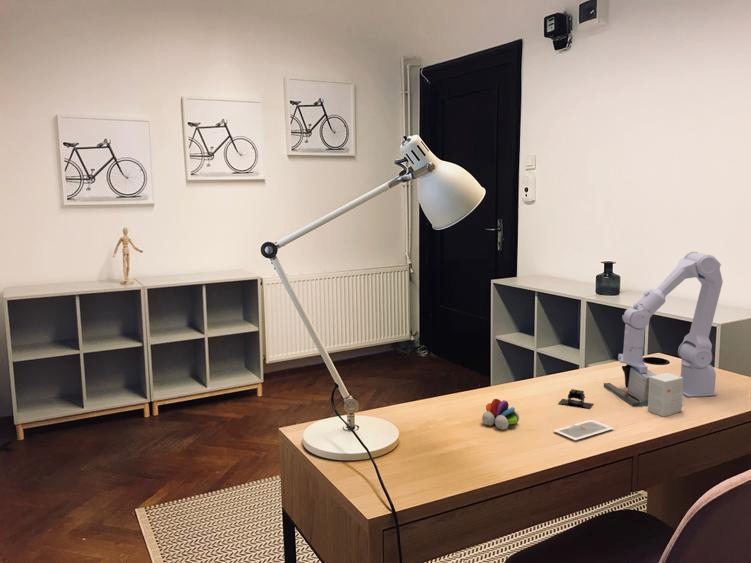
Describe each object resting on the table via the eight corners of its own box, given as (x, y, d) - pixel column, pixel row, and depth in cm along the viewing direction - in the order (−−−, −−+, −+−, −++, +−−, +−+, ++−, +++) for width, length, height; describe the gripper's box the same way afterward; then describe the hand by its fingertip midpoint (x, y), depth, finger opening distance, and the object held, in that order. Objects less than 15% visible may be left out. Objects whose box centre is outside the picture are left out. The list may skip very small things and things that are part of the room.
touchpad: (614, 432, 174) (614, 424, 174) (575, 444, 167) (575, 436, 167) (591, 423, 181) (591, 415, 181) (552, 434, 174) (552, 426, 173)
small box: (665, 406, 192) (667, 372, 190) (682, 412, 187) (684, 377, 185) (646, 411, 188) (648, 376, 187) (663, 417, 183) (665, 381, 182)
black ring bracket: (552, 406, 195) (552, 391, 194) (558, 398, 201) (558, 384, 201) (594, 413, 189) (595, 397, 188) (599, 405, 195) (600, 390, 194)
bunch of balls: (495, 416, 186) (495, 392, 185) (524, 425, 180) (524, 400, 178) (477, 424, 181) (477, 399, 179) (506, 433, 174) (507, 407, 173)
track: (635, 385, 212) (635, 381, 211) (667, 404, 193) (667, 401, 193) (603, 386, 210) (603, 383, 210) (633, 406, 192) (633, 403, 192)
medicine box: (655, 402, 195) (659, 376, 193) (642, 403, 194) (646, 377, 192) (638, 391, 203) (642, 365, 200) (626, 392, 202) (630, 366, 199)
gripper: (610, 340, 207) (607, 381, 209) (633, 352, 193) (629, 396, 195) (631, 340, 208) (628, 380, 210) (655, 352, 194) (651, 395, 196)
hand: (630, 388), depth 203 cm, fingers closed, pressing on medicine box
